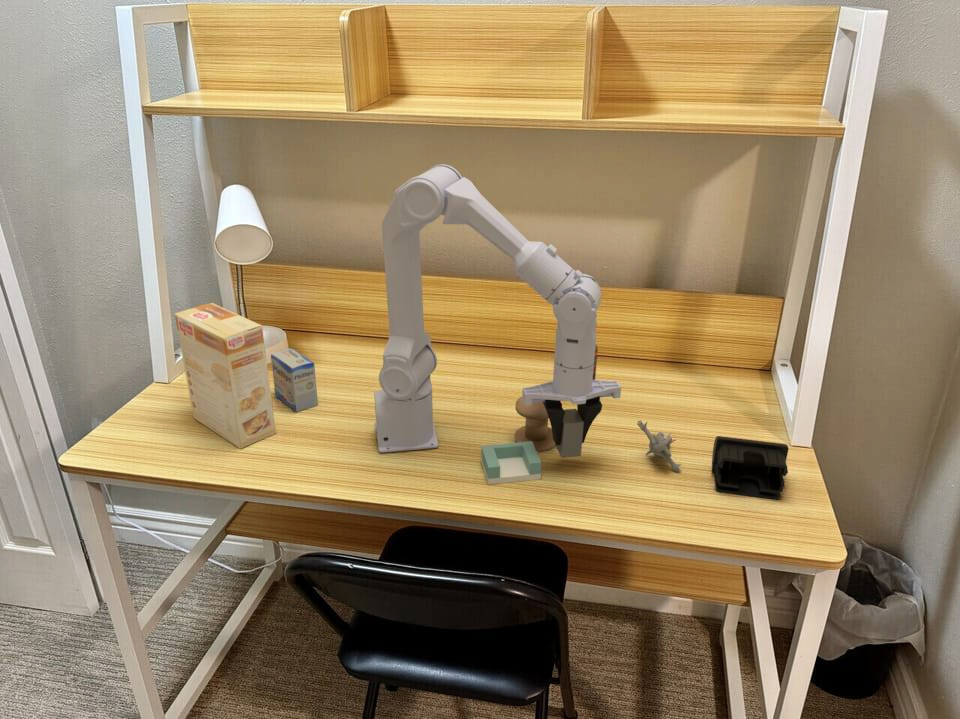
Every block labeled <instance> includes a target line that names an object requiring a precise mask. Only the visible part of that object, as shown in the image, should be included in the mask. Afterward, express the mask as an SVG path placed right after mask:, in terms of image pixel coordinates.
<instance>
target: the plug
mask: <svg viewBox="0 0 960 719" xmlns="http://www.w3.org/2000/svg"><path fill="white" fill-rule="evenodd" d="M563 410H564V411H565V415H564V419H563V423H562V439H561V445H556V444H555V445H556V446H555V447H556V449H557V452H558V453H559V456H560V458H562V459H565V458H575V457H578V458H579V457H582V449H583V443H582V437H583V426H584V421H583V420H582V418H581V416H580V415H579V413H578V411H577V408H567V409H563Z"/></svg>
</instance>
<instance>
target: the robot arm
mask: <svg viewBox="0 0 960 719" xmlns="http://www.w3.org/2000/svg"><path fill="white" fill-rule="evenodd" d="M441 215H442V216H444V217H443V219H442V224H443V225H465V226H466V225H467V226H469V227H470V228H471V229H473V230H474V231H476V232H477V233H478V234H480V235H481V236H482V237H483V238H484V239H486V240H487V241H488V242H489V243H491V244H492V245H493V246H494V247H496V248H497V249H498V250H500V251H501V252H502V253H503V254H505V255H506V256H507V257H509V258H510V259H511V260H512V264H513V270H514V274H515V275H517V277H519V278H520V279H521V280H522V281H523V282H524V283H526V284H527V285H528V286H529V287H530V288H531V289H533V290H534V292H536V293H537V294H538V295H539V296H540V297H541V298H543V299H544V300H545V301H546V302H547V303H549V304H551V305H552V313H553V315H554V317H555V319H556V320H557V328H556V330H555V340H554V341H555V343H554V359H553V377H552V381H548V382H545V383H544V382H543V383H542V384H536V385H534V386H528V387H523V388H522V396H521V397H522V400H523V402H524V404H525V405H532V403H535V402H543V404H544V406H545V409H546V411H547V414H548V417H549V419H548V421H549V422H550V428H551V429H552V434H553V440H554V442H555V444H556V445H561V439H562V423H563V419H564V415H565V411H564V410H565V409H564V408H563V403H562V402H570V403H571V404H573V405H577V406H576V409H577V411H578V413H579V415H580V416H581V418H582V420H583V421H584V426H583V437H582V444H583V443H584V442H585V440H586V438H587V435H588V432H589V430H590V428H591V426H592V424H593V423H594V421H595V419H596V418H597V416H598V415H599V414H600V413H601V412H602V410H603V403H602V402H601V398H611V397H612V399H621V395H622V386H621V385H620V383H619V381H617V380H597V379H595V380H592V379H593V368H594V357H595V346H596V345H597V330H596V329H597V326H598V323H597V316H598V314H597V313H598V312H597V311H598V309H599V307H600V305H601V304H602V297H603V293H602V292H603V291H602V288H601V287H600V285H599V283H598V282H597V281H596V279H595V278H594V277H593V276H591V275H589V274H586V273H583V272H581V271H580V270H579V269H577V270H575V269H574V268H573V267H572V266H570V265H569V264H568V263H567V262H566V261H565V260H564V259H563V258H561V257H560V256H559V255H558V254H557V252H558V249H557V248H556V247H555V246H554V245H553V244H549V245H547V244H545V242H543V241H531V240H528V239H527V238H526V237H525V236H524V235H523V234H522V233H521V232H520V231H519V230H518V229H517V228H516V227H515V226H514V225H513V224H512V223H511V222H509V221H508V219H507V218H506V217H505V216H504V215H503V214H502V213H501V212H499V211H498V210H497V208H495V206H493V205H492V204H491V203H490V202H489V201H488V200H487V199H486V198H485V197H484V196H483V195H482V193H481V192H480V191H479V190H478V189H477V188H476V186H475V185H474V184H473V181H471V180H469V178H467V177H466V176H465V177H464V176H462V175H461V173H460V172H459V171H458V170H457V169H456V168H454V167H453V166H451V165H449V164H443V163H442V164H436V165H434V166H432V167H430V168H429V169H428V170H426V171H425V172H423V173H421V174H420V175H417V176H414V177H411V178H410V179H408V180H407V181H406V182H404V183H403V184H402V185H400V186H399V187H398V188H397V189H396V190H395V191H394V197H393V199H392V201H391V203H390V205H389V207H388V209H387V211H386V212H385V215H384V216H383V218H382V222H381V232H382V233H381V234H382V235H381V236H382V247H383V260H384V276H385V288H386V302H387V303H386V304H387V316H388V317H387V318H388V329H389V330H388V331H389V337H388V340H387V343H386V346H385V349H384V351H383V355H382V366H381V368H380V371H379V374H378V381H379V385H380V387H381V389H380V390H375V391H374V393H373V396H374V410H375V422H374V423H373V424H374V435H376V437H377V438H376V439H377V446H378V453H381V454H382V453H394V452H404V451H405V452H406V451H415V450H416V451H417V450H427V449H436V448H438V447H439V442H438V438H437V432H436V429H435V424H434V412H433V411H434V410H433V384H432V380H431V374H433V373H434V371H435V370H436V368H437V364H438V358H437V355H436V352H435V350H434V348H433V347H432V342H431V335H430V334H429V333H428V332H426V330H425V321H424V318H425V317H424V301H423V300H424V299H423V281H422V279H423V277H422V258H421V256H422V255H421V241H420V239H421V238H420V237H421V236H420V232H421V231H422V230H423V229H424V228H426V227H427V225H428V224H430V223H433V222H434V221H436V220H438V219H439V218H440V217H441Z"/></svg>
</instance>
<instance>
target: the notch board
mask: <svg viewBox="0 0 960 719" xmlns="http://www.w3.org/2000/svg"><path fill="white" fill-rule="evenodd" d="M480 450H481V453H480V457H481V458H480V461H481V462H480V463H481V466H482V469H483V472H484V475H485V478H486V479H485V480H486V482H487V484H488V485H495V484H496V485H498V484H507V483H508V484H509V483H516V482H517V483H518V482H527V481H536V480H542V464H543V463H542V460H541V458H540V455H539V453H538V451H536V449H535V447H534V445H533V442H532V441H529V442H518V443H516V442H510V443H499V444H498V443H497V444H490V445H487V444H486V445H481V449H480Z"/></svg>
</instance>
